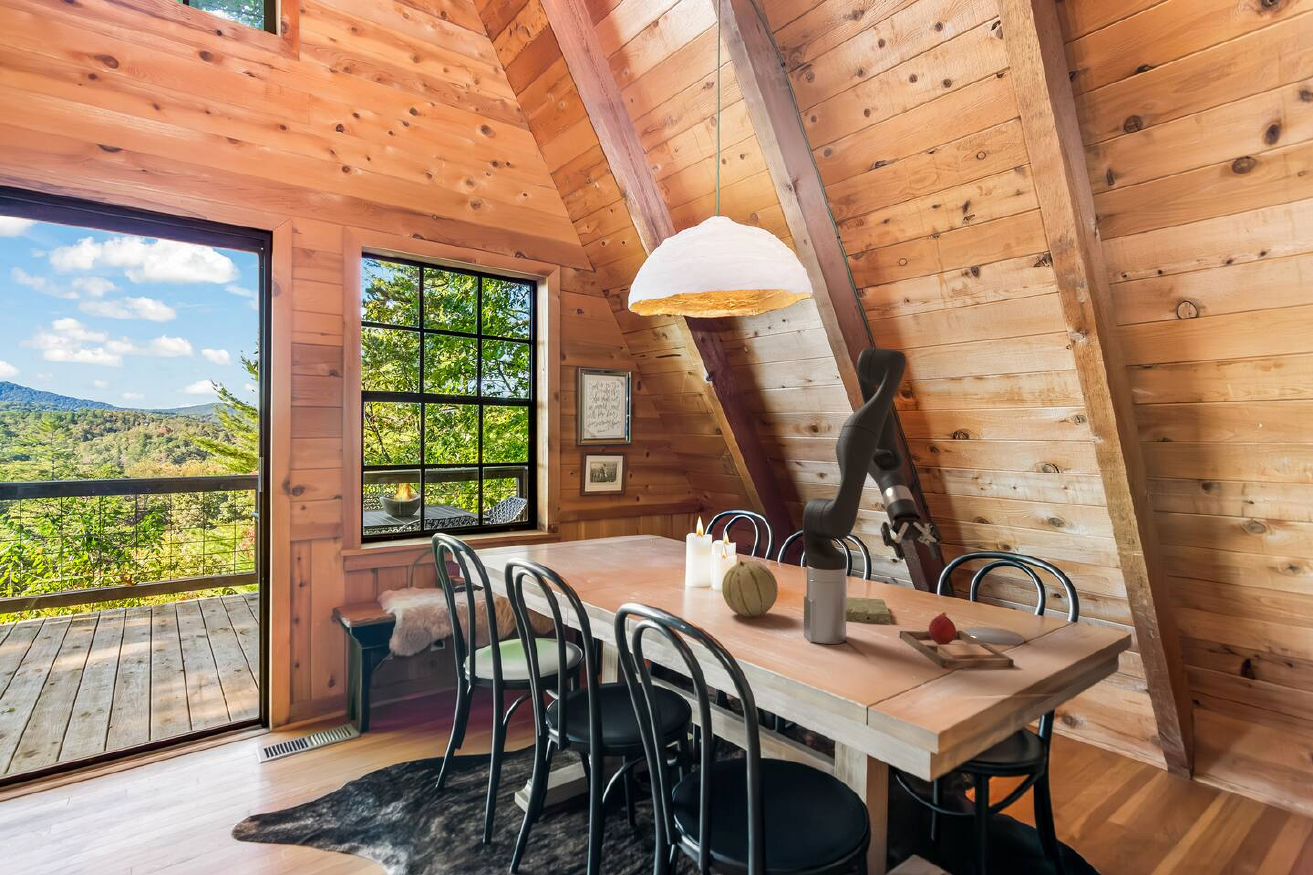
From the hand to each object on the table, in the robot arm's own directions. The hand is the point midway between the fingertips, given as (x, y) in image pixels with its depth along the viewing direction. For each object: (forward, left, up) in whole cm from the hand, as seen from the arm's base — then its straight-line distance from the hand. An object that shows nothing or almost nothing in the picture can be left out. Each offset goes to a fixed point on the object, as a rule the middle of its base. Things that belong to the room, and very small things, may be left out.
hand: (919, 557), depth 173 cm
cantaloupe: (-39, +17, -18) cm, 46 cm away
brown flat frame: (0, -17, -18) cm, 25 cm away
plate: (+15, -6, -18) cm, 25 cm away
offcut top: (0, -23, -17) cm, 28 cm away
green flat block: (-11, +19, -19) cm, 29 cm away
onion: (0, -12, -18) cm, 22 cm away
